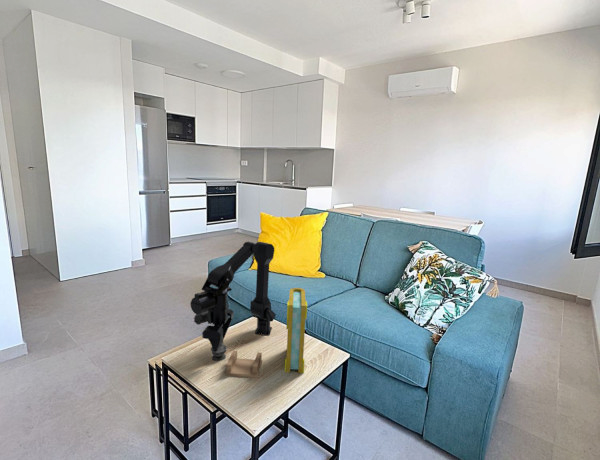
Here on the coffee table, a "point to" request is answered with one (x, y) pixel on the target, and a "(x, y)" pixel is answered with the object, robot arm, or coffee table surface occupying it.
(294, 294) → the book
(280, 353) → the coffee table surface
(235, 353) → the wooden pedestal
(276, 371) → the coffee table surface
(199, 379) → the coffee table surface
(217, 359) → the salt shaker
